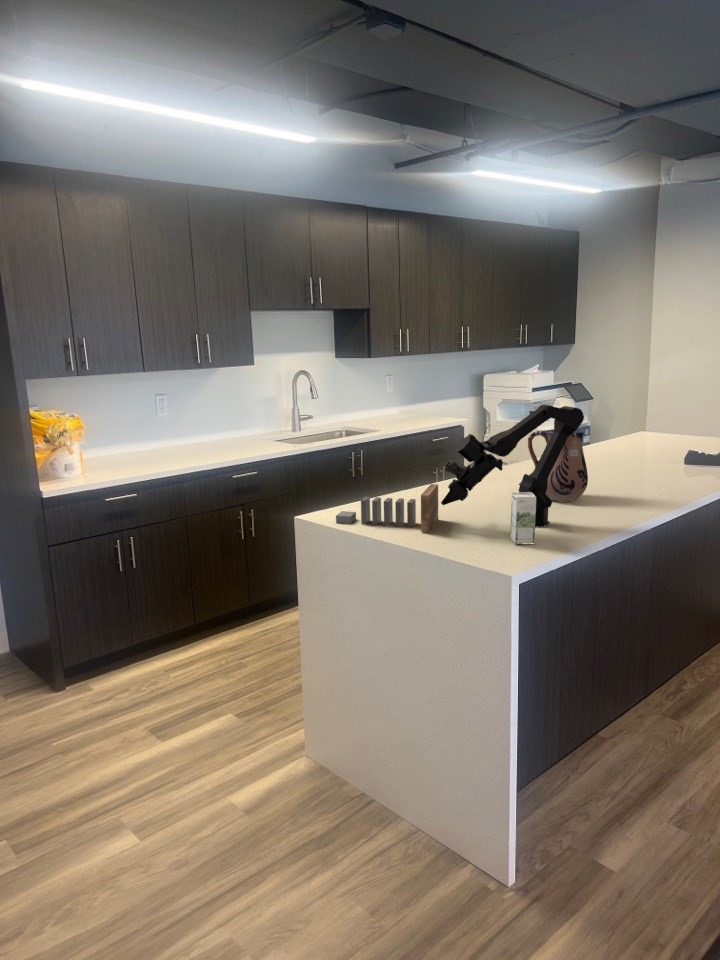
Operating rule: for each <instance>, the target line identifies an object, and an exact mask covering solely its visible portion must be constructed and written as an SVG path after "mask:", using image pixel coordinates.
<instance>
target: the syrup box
mask: <svg viewBox="0 0 720 960" xmlns="http://www.w3.org/2000/svg"><path fill="white" fill-rule="evenodd" d="M510 505H511V506H510V508H511V509H510V535H509V536H510V538H509V539H510V541H511V542H512V541H513V542H514V543H513V542H512V543H513V544H514V545H515V544H523V543H534V544H535V535H536V526H535V515H536V497H535V495H534V494H533V493H531V492H519V491H518V492H511V502H510Z"/></svg>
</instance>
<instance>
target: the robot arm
mask: <svg viewBox="0 0 720 960" xmlns="http://www.w3.org/2000/svg"><path fill="white" fill-rule="evenodd" d="M550 419H552V420H553V419H554V420H553V429H554V432H553V434H552V436H551V438H550V440H549V442H548V444H547V443H546V445H547V446H545V447H544V449H543V451H542V454H541V455H540V457H539V460H538V463H537V465H536V467H535V466H534V469H533V471H532V472H531V473H529V474H527V473H524V474H523V476H522V480H521V481H520V482H519V483H518V486H519V487H518V493H519V492H531V493H533V494H534V495H535V497H536V515H535V527H536V526H539V527H538V528H542V527H541V526H543V527H545V526H547V525H549V524H551V521H549V508H551V507H552V504H553V500H551V499H550V498H549V497H548V496H547V495H546V491H547V488H548V477H549V475H550V473H551V471H552V469H553V467H554V465H555V463H556V461H557V459H558V457H559V455H560V453H561V451H562V449H563V447H564V445H565V443H566V441H567V439H568V437H569V436H570V435H571V434H573V433H574V432H575V431H578V429H579V428H580V426H581V425H582V424H583V422H584V420H585V415H584V412H583V410H582V409H581V408H578V407H574V406H568V405H564V406H561V407H556V406H553V405H550V404H541V405H539V406H538V408H537V409H535V410H534V411H532V412H531V413H530V414H528V415H527V416H525V417H524V418H523V419H521V420H520V421H519V422H517V423H516V424H515V425H513V426H512V427H510V428H509V429H507V430H503V431H501V432H499V433H496V434H494V435H492V436H490V437H489V438H488V439H487V440H484V441H480V440H478V439H477V438H476V436H474V434H473V433H469V434H468V435H467V436H465V437H463V438H462V439H461V440H459V441H458V442H457V444H456V446H455V451H456V452H457V453H458V454H459V455H460V456H461V457H463V458H464V459H465V460H466V461H468V463H469V464H468V465H465V464H463V463H460V462H459V461H456V460H455V459H452V458H449V459H448V460H447V462H446V464H445V467H444V469H443V470H444V472H448V473H451V474H453V475H455V478H453V479H452V482H450V483H449V485H448V486H447V487H448V489H449V491H448V493H447V494H446V495H445V496H444V498H443V499H442V500H441V502H440V504H441V505H442V506H445V505H447V504H450V503H451V504H452V503H454V502H457V501H461V502H464V501H465V499H467V498H468V496H469V492H471V491H472V490H473V489H474V487H476V485H478V484H479V483H481V482H482V481H483V479H484V478H485V477H487V475H489V474H490V473H491V472H492V471H494V469H495V468H497V469H498V470H499V471H503V463H504V461H503V458H497V457H495V456H494V455H496V456H498V457H508V456H509V455H510V454H511V453H512V452H513V451H514V450H515V449H516V447H517V446H518V443H519V442H520V441H521V440H522V439H523V438H525V437H526V436H528V435H530V434H531V433H533V432H534V431H535V430H537V429H538V428H539V427H540V426H542V425H543V424H544V423H546V422H547V421H548V420H550ZM487 452H488V453H487ZM548 523H549V524H548ZM546 524H547V525H546ZM544 525H545V526H544Z"/></svg>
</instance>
